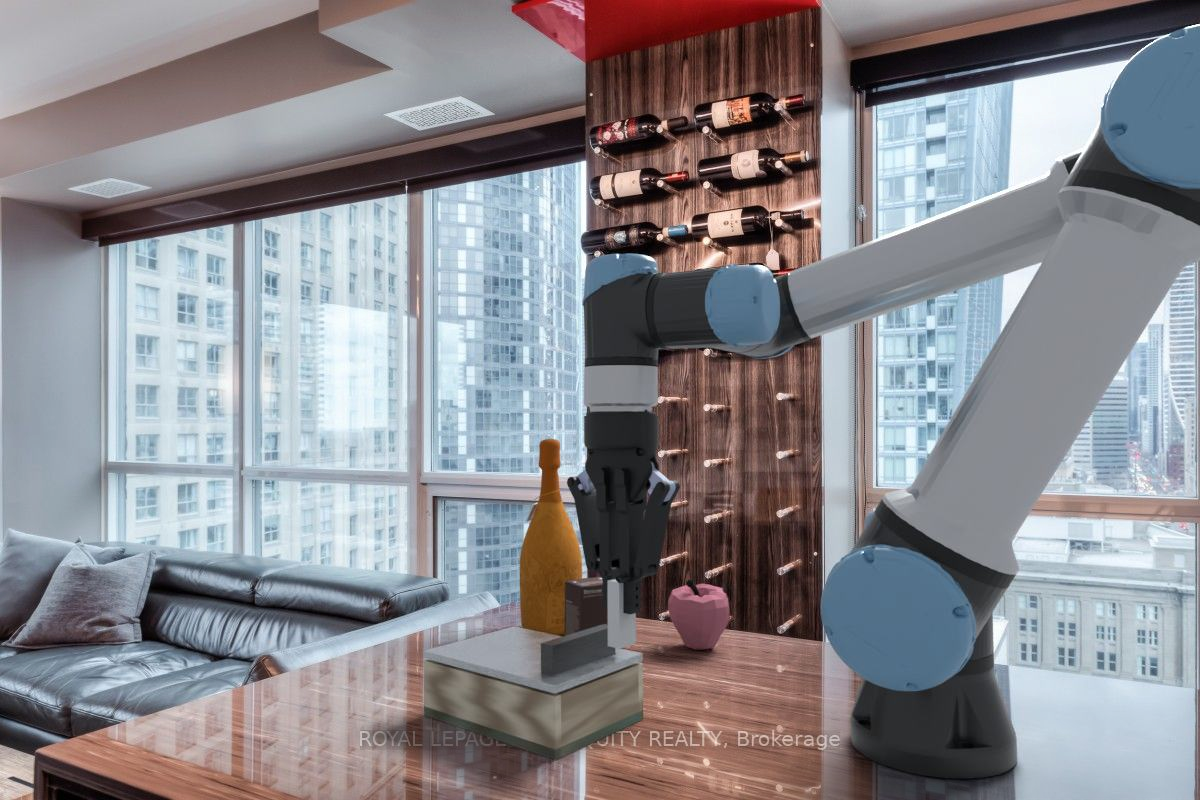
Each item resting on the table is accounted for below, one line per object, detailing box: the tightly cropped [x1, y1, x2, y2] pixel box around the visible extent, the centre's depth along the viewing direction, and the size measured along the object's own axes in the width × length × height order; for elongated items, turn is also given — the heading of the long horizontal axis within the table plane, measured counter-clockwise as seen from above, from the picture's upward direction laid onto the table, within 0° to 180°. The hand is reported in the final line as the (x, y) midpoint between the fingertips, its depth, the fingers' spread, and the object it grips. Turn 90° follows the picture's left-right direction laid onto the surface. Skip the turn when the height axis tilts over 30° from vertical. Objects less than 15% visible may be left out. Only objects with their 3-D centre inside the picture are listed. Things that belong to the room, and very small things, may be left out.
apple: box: [667, 579, 731, 651], centre depth 118 cm, size 10×9×10 cm
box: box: [563, 576, 608, 636], centre depth 106 cm, size 6×4×12 cm
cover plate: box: [423, 624, 644, 694], centre depth 91 cm, size 20×14×4 cm
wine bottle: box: [519, 438, 583, 636], centre depth 130 cm, size 10×10×30 cm
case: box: [423, 659, 644, 761], centre depth 91 cm, size 20×14×6 cm
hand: (621, 644), depth 83 cm, fingers closed
